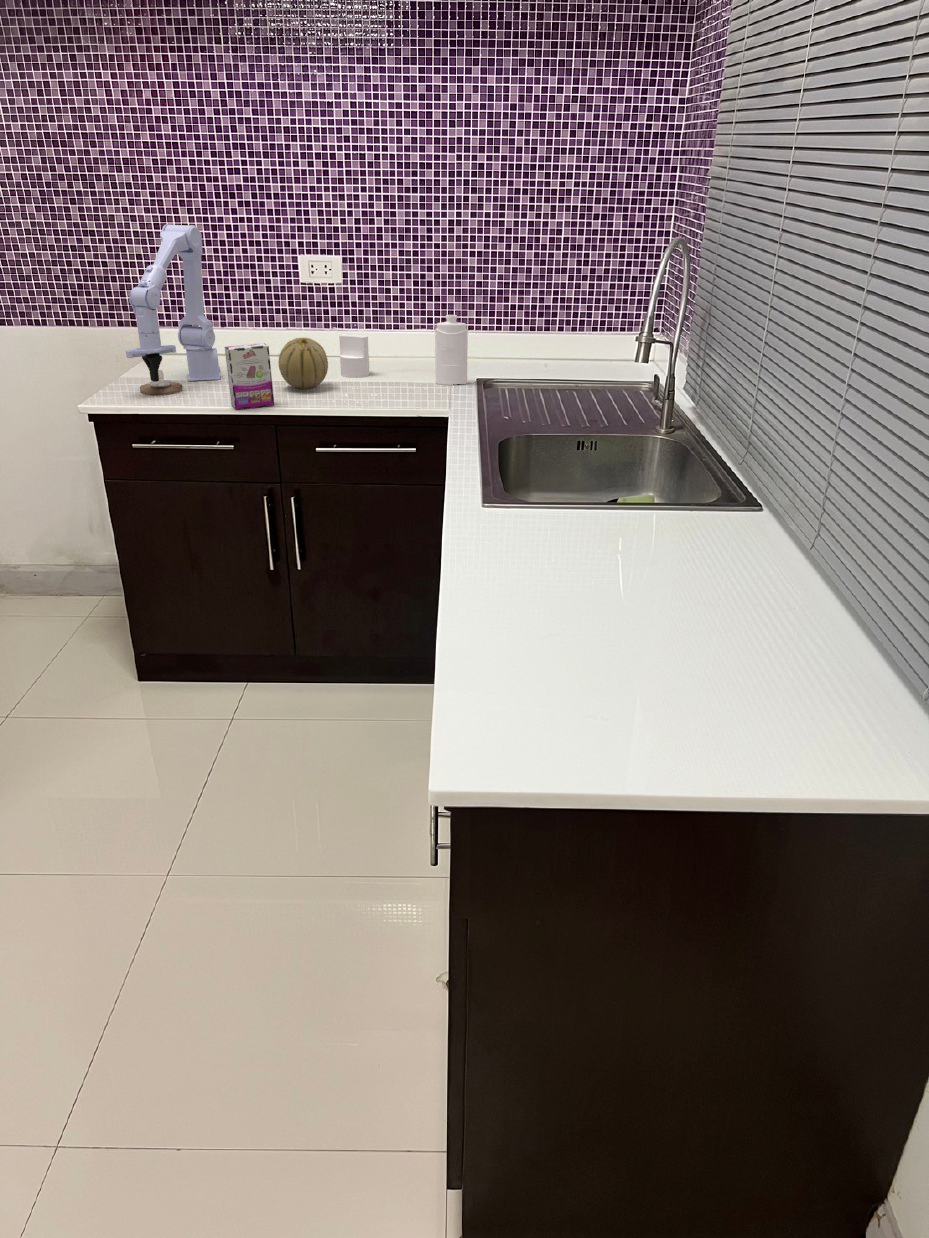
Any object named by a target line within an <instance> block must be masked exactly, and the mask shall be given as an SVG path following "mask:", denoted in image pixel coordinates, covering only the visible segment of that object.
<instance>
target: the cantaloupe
mask: <svg viewBox="0 0 929 1238" xmlns="http://www.w3.org/2000/svg"><path fill="white" fill-rule="evenodd" d="M278 369H279V372H280V375H281V377H282V379H283V380H284V381H285V382H286V384H288V385H290V386H291V387H293V388H296V389H300V390H308V389H313V388H316V387H317V386H319V385H320V384H321V383H322V382H323V381H324V380H325V378H326V376H327V373H328V371H329V361H328V356H327V352H326V351H325V349H324V347H323V346H322V345H321V344H320V343H319V342H317V341H316V340H314V339H312V338H310V337H296V338H294V339H292V340H289V341H287V342H286V344H284V346H283V347H282V348H281V350H280V352H279V355H278Z"/></svg>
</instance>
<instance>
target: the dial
mask: <svg viewBox="0 0 929 1238" xmlns="http://www.w3.org/2000/svg"><path fill="white" fill-rule="evenodd" d="M158 375H159V381H156V382H154V381H150V382H149V383H150V387H152V388H165V387H170V386H171V382H172V381H171V380H170V379H169V380H168V379H165V376H164V372H163V370H162V369H158Z"/></svg>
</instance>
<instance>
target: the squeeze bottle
mask: <svg viewBox="0 0 929 1238" xmlns="http://www.w3.org/2000/svg"><path fill="white" fill-rule="evenodd" d="M457 319H458V315H457V314H446V315H445V321H443V322H437V323H436V328H435V330H434V332H435V333H434V334H435V335H434V340H435V343H434V344H435V358H434V359H435V363H434V364H435V384H436V385H441V386H454V385H453V384H465V385H467V384H468V340H469V339H468V335H469V334H468V333H469V332H468V330H469V329H468V328H467V324H466V323H464V322H458V321H457ZM466 383H467V384H466Z"/></svg>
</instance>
